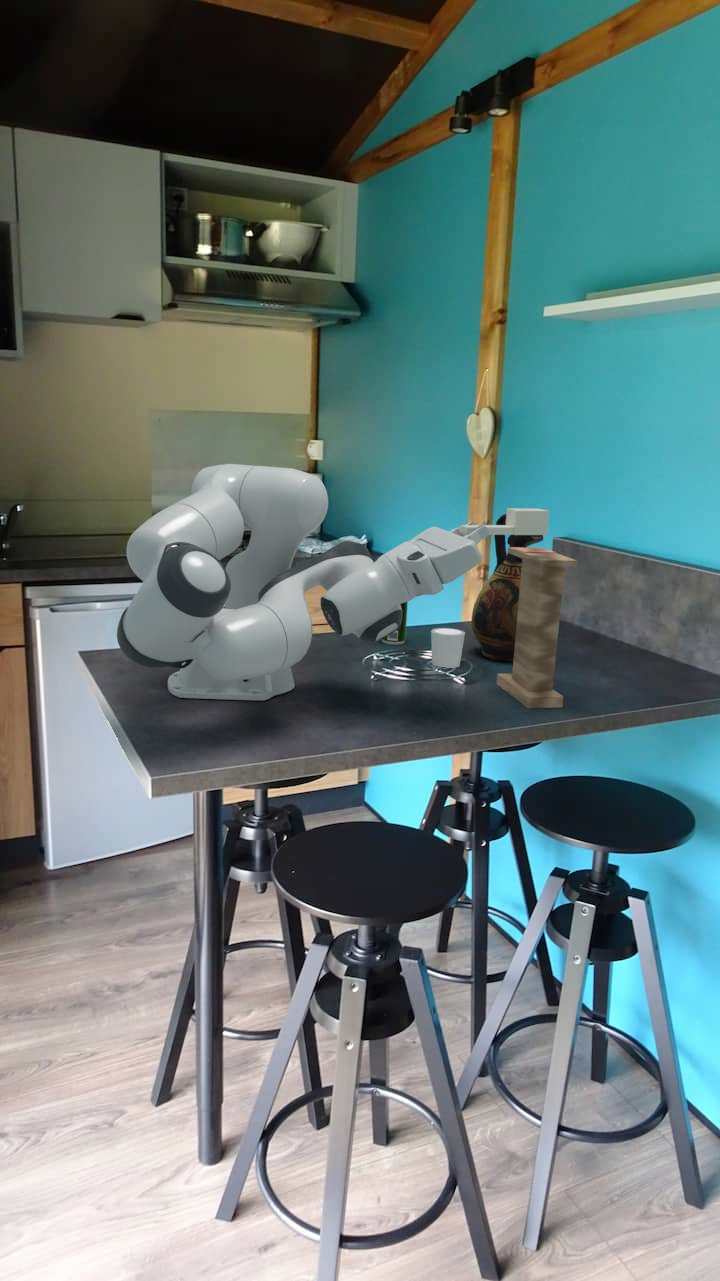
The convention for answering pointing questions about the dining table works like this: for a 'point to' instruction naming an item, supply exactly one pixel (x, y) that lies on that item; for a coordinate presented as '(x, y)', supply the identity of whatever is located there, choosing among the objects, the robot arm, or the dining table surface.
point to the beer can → (399, 634)
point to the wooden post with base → (537, 628)
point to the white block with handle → (517, 523)
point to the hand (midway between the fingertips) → (481, 527)
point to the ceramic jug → (501, 599)
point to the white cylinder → (447, 647)
